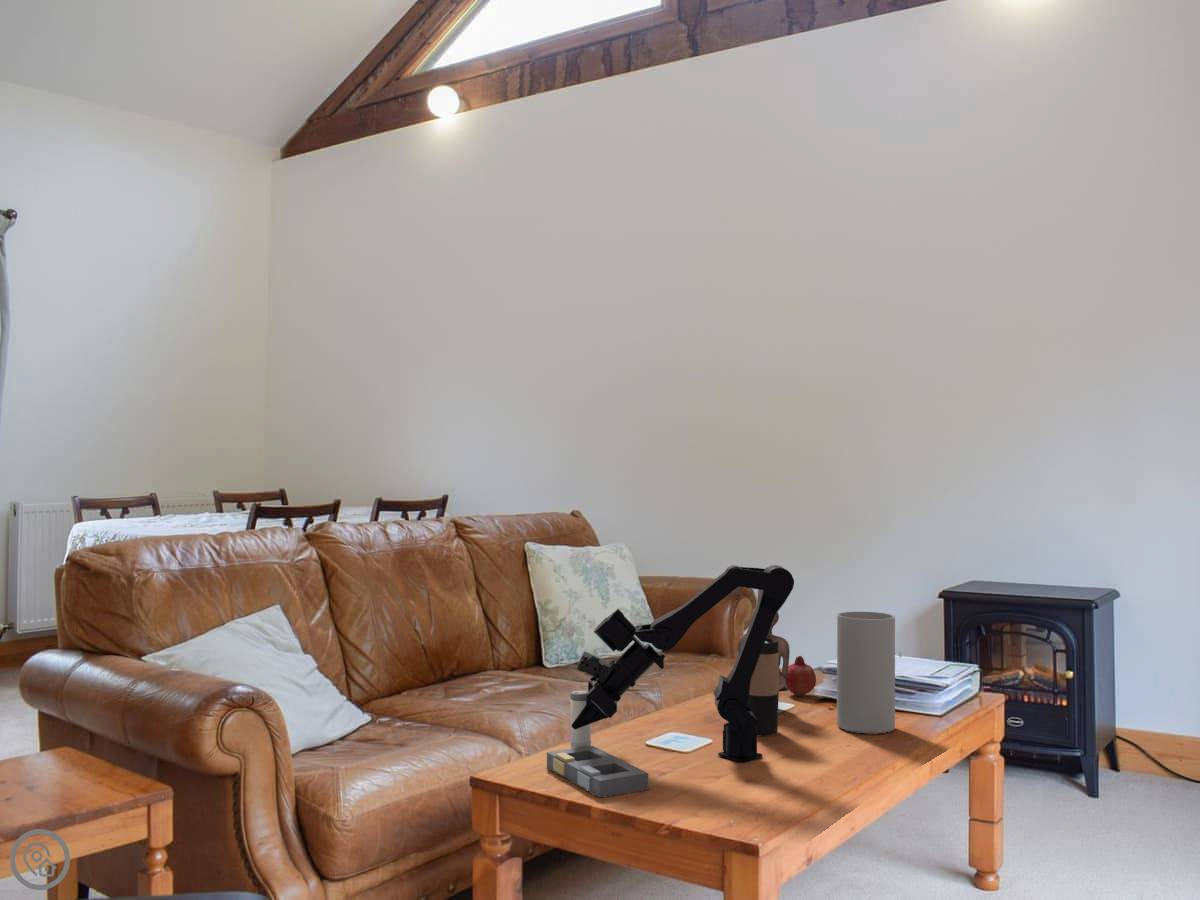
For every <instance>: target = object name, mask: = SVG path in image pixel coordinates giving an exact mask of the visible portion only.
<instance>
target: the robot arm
mask: <svg viewBox="0 0 1200 900" xmlns="http://www.w3.org/2000/svg"><path fill="white" fill-rule="evenodd" d="M794 586H795V579H794V577H793V575H792V573H791V572H790V571H789V570H787V569H786V568H785V567H782V566H781V565H779V564H778V565H777V564H773V565H769V566H767V567H765V568H761V567H749V566H747V567H745V566H739V565H730V566H728V567H727V568H726V569H725V570H724V572H723V573H721V574H720V575H719V576H717V577H716V578H715V579H714V580H713V581H711V582H710V583H708V584H707V585H706V586H705V587H704V588H702V589H701V590H700V591H698V592H697V593H696V594H695V595H694V596H693V597H691V598H690V599H688V600H687V601H686V602H685V603H684V604H683V605H681V606H679V607H677V608H675V609H673V610H671V611H668V612H667V613H665V614H663V615H662V616H659V617H658V618H655V619H654V620H653V621H652V622H651V623H648V624H646V623H645V624H640V625H634V624H633V623H632V622H631V621H630V620H629V619H628V617H626V616H625V614H624V612H622V610H621V609H620V608H617V609H616V610H615V611H613V612H612V613H611V614H609V616H607V617H605V618H604V619H603V620H601V622H600V623H599V624H598V625H597V626H596V628H594V630H593V633H594V634H595V635H596V636H597V637H598V638H599V639H600V640H601V641H602V642H603V643H604V644H605V645H606V646H607V647H608V648H609V649H610V650H611V651H612V652H615V651H616V650H617V652H623V651H624V650H625V649H626V648H627V647H628V646H629V645H630V644H631V643H632V642H633V643H632V644H631V645H630V646H629V647H628V648H627V649H626V650H625V651H624V652H623V653H622V654H621V655H620V656H618V657H617V658H616V659H614V658H613V659H612V660H611V661H610V662H607V661H605V660H603V659H602V658H600V657H598V656H595V654H592V653H589V652H587V651H583V652H582V655H581V656H580V659H579V661H578V663H577V666H576V670H578V671H579V672H581V673H586V674H588V675H590V677H589V680H588V684H587V691H589V692H588V693H587V695H586V705H585V707H584V708H583V709H582V711H581V712H580V714H579V715H578V716H577V718H576V719H575V721H574V722H573V724H572V727H573V728H574V729H578V728H581V727H583V726H586V725H588V724H591V725H592V724H593V723H596V722H599V721H602V720H605V719H608V718H610V719H611V718H612V717H613V716H614V715H615V714H616V713H617V712H618V702H619V701H620V700H621V699H622V696H623V695H624V694H625V693H626V692H627V691H628V690H629V689H630V688H633V687H634V686H636V684H637V683H636V682H637V681H638V680H639V679H640V678H641V677H642V676H643V675H644V674H645V673H646V672H647V671H648V670H649V669H650V668H651V667H652V666H653V665H654V664H656V665H657V666H658V668H660V669H661V670H663V669H665V665H664V662H665V661H664V660H665V658H666V654H665V653H664V652H661V653H660V652H657V650H660V651H669V650H671V649H673V648H674V647H675V646H676V645H677V644H678V642H680V640H681V639H682V638H683V637H684V635H685V634H686V633H687V632H688V630H689V629H690V628H691V627H692V625H693V624H694V623H695V622H696V621H697V620H699V619H700V618H701V617H702V616H703V615H705V614H706V613H708V612H709V610H711V609H712V608H714V607H715V606H716V605H717V604H719V603H720V602H721V601H722V600H724V598H726V597H727V596H728V595H730V594H731V593H732V592H733V591H734V590H736V589H737V588H738V587H739V588H749V589H754V590H758V591H757V599H756V607H755V608H756V609H755V608H754V609H755V612H754V614H753V617H752V616H751V620H750V623H749V626H748V628H747V631H746V633H745V634H746V635H745V638H744V641H743V643H742V646H741V649H740V651H739V654H738V653H737V657H736V660H735V661H734V665H733V667H732V670H731V671H730V673H729V674H728V675H727V676H726V677H725V676H723V675H722V674H720V675H719V679H718V683H717V686H716V688H715V689H714V690H713V693H712V694H713V696H714V704H715V707H716V710H717V712H718V714H719V716H720V717H721V718H722V719H723V720H725V721H727V722H726V723H723V730H722V751H721V752H718V753H717V756H719V757H723V758H725V759H729V760H733V761H736V762H738V763H743V762H746V761H751V760H755V759H759V758H760V759H761V758H763V754H762V753H759V752H758V736H757V727H756V725H757V722H758V721H757V719H756V717H755V715H754V714H753V712H752V710H751V709H750V708H749V707H748V706H747V704H748V699H749V692H750V682H751V678H752V675H753V672H754V670H755V667H756V664H757V662H758V659H759V657H760V654H761V651H762V649H763V646H764V643H765V641H766V638H767V636H768V633H769V630H770V628H771V625H772V622H773V620H774V617H775V615H776V613H777V612H778V613H779V610H780V609H781V608H782V606H783V605H784V604H785V603H786V601H787V599H788V597H790V595H791V593H792V592H793V589H794ZM643 643H647V644H645V645H644V644H643ZM650 644H651V645H650ZM656 649H657V650H656Z"/></svg>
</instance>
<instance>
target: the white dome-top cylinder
mask: <svg viewBox="0 0 1200 900" xmlns="http://www.w3.org/2000/svg"><path fill="white" fill-rule="evenodd" d="M588 692H589V691H588V690H574V691H571V692H570V749H573V748H580V747H587V746H592V740H591V739H592V734H591V733H592V731H591V730H592V729H591V728H592V726H591V725H592V723H591V724H588V725H586V726H583V727H581V728H578V729H574V728H573V727H572V724H573V722H574V721H575V719H576V718H577V716H578V715H579V714H580V712H581V711H582V709H583V708H584V707H585V705H586V695H587V693H588Z"/></svg>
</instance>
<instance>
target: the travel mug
mask: <svg viewBox="0 0 1200 900" xmlns="http://www.w3.org/2000/svg"><path fill="white" fill-rule="evenodd" d="M779 668H780V666H778V641H777V642H774V641H773V640H772V639H770V638H766V641H765V643H764V646H763V649H762V651H761V654H760V657H759V659H758V662H757V664H756V667H755V670H754V672H753V675H752V678H751V682H750V692H749V699H748V704H747V706H748V707H749V708H750V709H751V710H752V712H753V714H754V715H755V717H756V719H757V721H758V722H757V725H756V727H757V735H771V736H773V735H772V734H775V735H777V734H778V727H779V726H778V723H779V700H780V699H779V693H780V692H779ZM776 733H777V734H776Z"/></svg>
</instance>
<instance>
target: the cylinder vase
mask: <svg viewBox="0 0 1200 900" xmlns="http://www.w3.org/2000/svg"><path fill="white" fill-rule="evenodd" d="M836 619H837V620H836V660H837V661H836V724H837V726H838V727H839V728H840V729H842V730H843V729H844V730H843V731H846V732H849V731H850V733H853V732H857V733H856V734H860V733H869V734H868V735H880V734H879V733H884V734H887V733H886V732H888V733H891V732H893V731H894V730H895V727H896V615H895V614H890V613H886V612H885V613H884V612H877V611H876V612H875V611H845V612H843V611H842V612H839V613H837V614H836ZM876 733H878V734H876Z"/></svg>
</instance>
